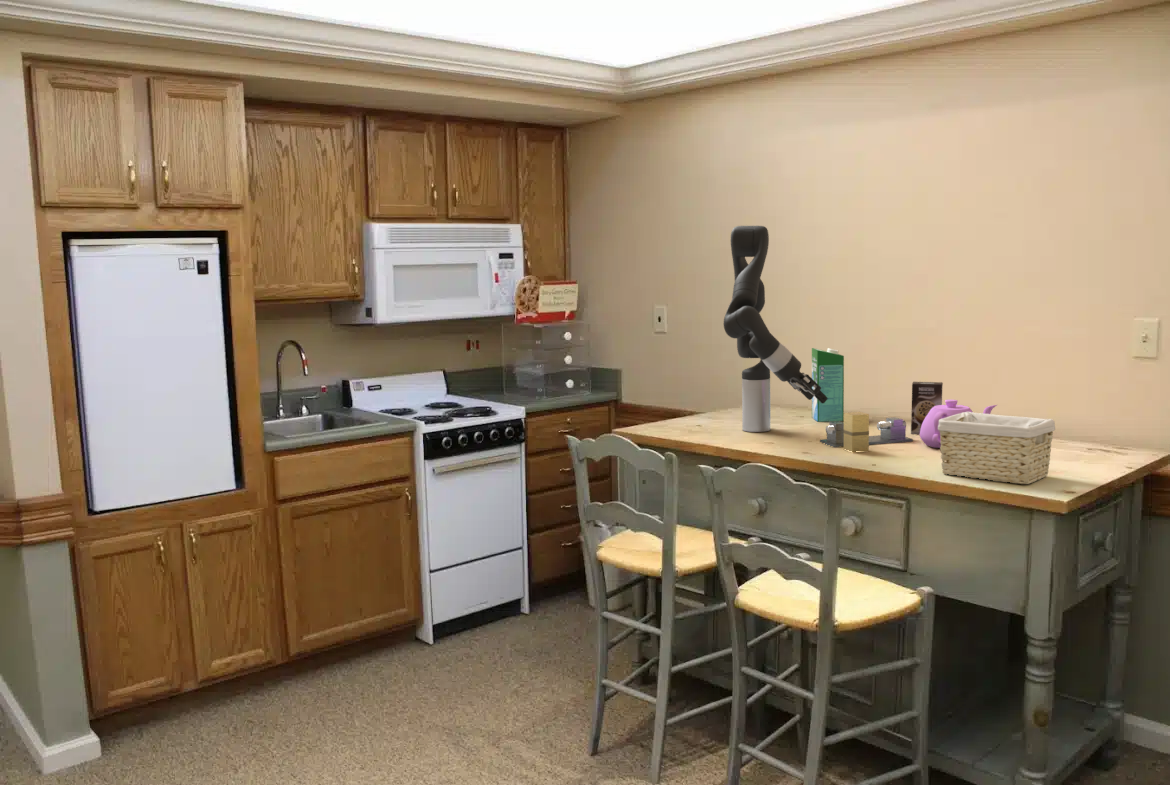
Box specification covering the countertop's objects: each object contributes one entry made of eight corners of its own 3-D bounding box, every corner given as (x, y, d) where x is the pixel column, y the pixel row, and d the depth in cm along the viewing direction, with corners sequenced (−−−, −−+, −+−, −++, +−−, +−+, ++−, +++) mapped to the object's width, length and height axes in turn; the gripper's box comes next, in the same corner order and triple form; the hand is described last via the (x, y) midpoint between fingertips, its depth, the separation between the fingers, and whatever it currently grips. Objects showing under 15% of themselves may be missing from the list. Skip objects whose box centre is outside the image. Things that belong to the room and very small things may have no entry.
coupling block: (852, 453, 276) (852, 415, 274) (843, 449, 281) (843, 412, 279) (868, 451, 277) (869, 414, 275) (859, 448, 282) (860, 411, 280)
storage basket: (934, 475, 245) (935, 418, 243) (962, 464, 256) (963, 410, 254) (1029, 488, 228) (1031, 427, 226) (1055, 476, 239) (1057, 418, 237)
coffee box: (910, 434, 302) (911, 383, 300) (911, 430, 308) (912, 381, 305) (941, 435, 298) (942, 384, 296) (941, 431, 304) (942, 381, 302)
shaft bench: (833, 447, 284) (833, 425, 283) (819, 442, 293) (819, 421, 292) (912, 441, 290) (912, 420, 289) (896, 436, 298) (897, 415, 297)
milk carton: (843, 421, 329) (844, 349, 326) (817, 421, 330) (817, 349, 326) (837, 417, 338) (837, 346, 335) (811, 417, 338) (811, 347, 335)
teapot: (982, 457, 264) (983, 408, 262) (906, 449, 278) (906, 402, 277) (1009, 445, 280) (1011, 398, 278) (937, 437, 294) (937, 393, 293)
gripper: (800, 353, 264) (838, 392, 267) (779, 350, 277) (816, 387, 281) (782, 373, 263) (821, 412, 267) (762, 369, 277) (799, 405, 281)
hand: (818, 399), depth 274 cm, fingers open, 8 cm apart
